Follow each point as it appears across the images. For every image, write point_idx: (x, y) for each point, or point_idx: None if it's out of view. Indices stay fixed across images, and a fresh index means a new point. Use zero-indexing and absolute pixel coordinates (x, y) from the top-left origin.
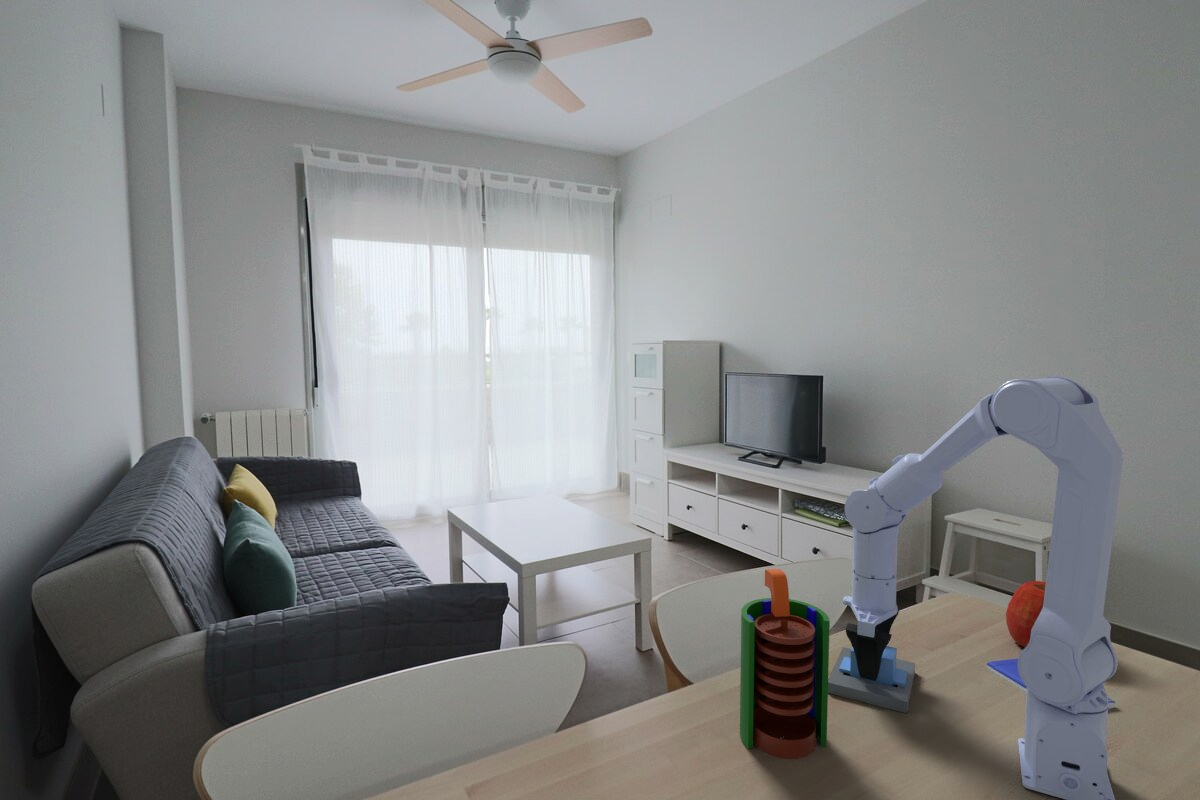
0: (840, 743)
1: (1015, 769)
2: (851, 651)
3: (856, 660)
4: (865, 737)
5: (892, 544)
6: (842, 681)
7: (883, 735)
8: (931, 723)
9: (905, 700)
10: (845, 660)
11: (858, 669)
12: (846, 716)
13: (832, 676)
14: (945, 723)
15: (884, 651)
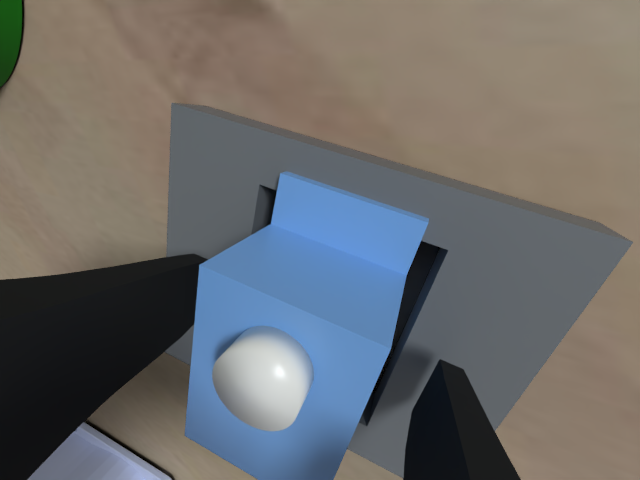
0: (7, 133)
1: (105, 425)
2: (203, 267)
3: (110, 267)
4: (55, 199)
5: None
6: (201, 174)
7: (82, 244)
8: (172, 366)
9: (169, 350)
10: (378, 220)
11: (163, 258)
12: (108, 163)
13: (227, 132)
14: (184, 393)
15: (255, 441)
